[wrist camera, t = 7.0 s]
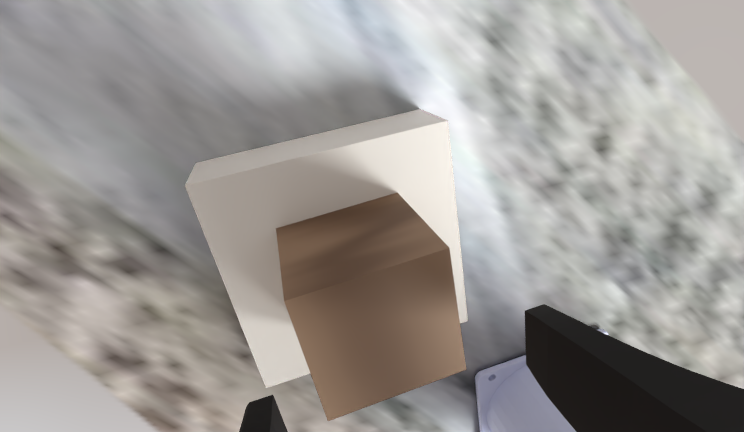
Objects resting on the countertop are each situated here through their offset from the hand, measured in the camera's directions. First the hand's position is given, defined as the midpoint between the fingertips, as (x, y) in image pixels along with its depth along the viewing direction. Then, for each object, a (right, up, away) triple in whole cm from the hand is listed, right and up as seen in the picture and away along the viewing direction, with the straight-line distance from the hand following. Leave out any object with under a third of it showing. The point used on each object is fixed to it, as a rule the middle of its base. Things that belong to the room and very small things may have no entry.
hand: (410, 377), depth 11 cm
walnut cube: (-2, +2, +6) cm, 7 cm away
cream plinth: (-3, +4, +9) cm, 10 cm away
